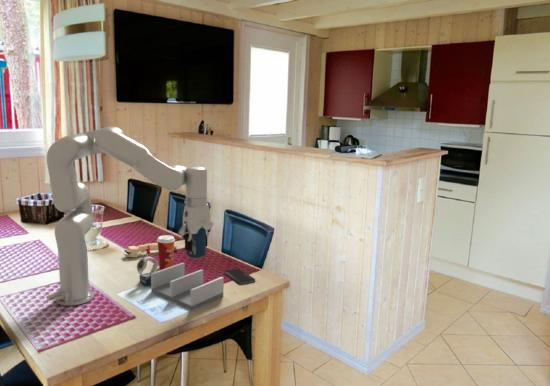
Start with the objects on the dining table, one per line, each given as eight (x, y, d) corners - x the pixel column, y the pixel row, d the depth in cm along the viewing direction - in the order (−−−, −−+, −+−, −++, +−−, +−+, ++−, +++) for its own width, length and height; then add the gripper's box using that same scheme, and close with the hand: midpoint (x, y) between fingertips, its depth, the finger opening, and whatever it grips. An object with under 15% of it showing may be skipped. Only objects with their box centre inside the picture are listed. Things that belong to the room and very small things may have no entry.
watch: (135, 283, 176) (134, 257, 174) (153, 278, 181) (152, 253, 179) (141, 288, 172) (141, 261, 170) (160, 283, 178) (159, 257, 175)
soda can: (203, 252, 166) (204, 221, 164) (207, 258, 160) (207, 226, 158) (185, 253, 164) (185, 222, 162) (187, 259, 158) (187, 227, 155)
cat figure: (169, 249, 222) (120, 253, 207) (171, 232, 221) (121, 235, 206) (178, 254, 215) (127, 260, 199) (179, 237, 213) (128, 241, 198)
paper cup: (170, 271, 190) (170, 240, 187) (154, 269, 191) (153, 239, 188) (178, 265, 197) (177, 235, 194) (162, 263, 198) (161, 234, 196)
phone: (239, 283, 179) (223, 271, 191) (239, 286, 179) (223, 273, 191) (256, 280, 183) (239, 267, 195) (256, 282, 183) (239, 270, 195)
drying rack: (192, 310, 156) (192, 290, 154) (151, 291, 169) (151, 273, 168) (223, 295, 168) (223, 277, 167) (183, 279, 182) (182, 262, 180)
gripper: (185, 206, 149) (185, 256, 152) (220, 199, 163) (220, 245, 166) (170, 203, 153) (171, 251, 157) (206, 196, 167) (206, 240, 171)
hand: (196, 247), depth 161 cm, fingers closed on soda can, 6 cm apart
